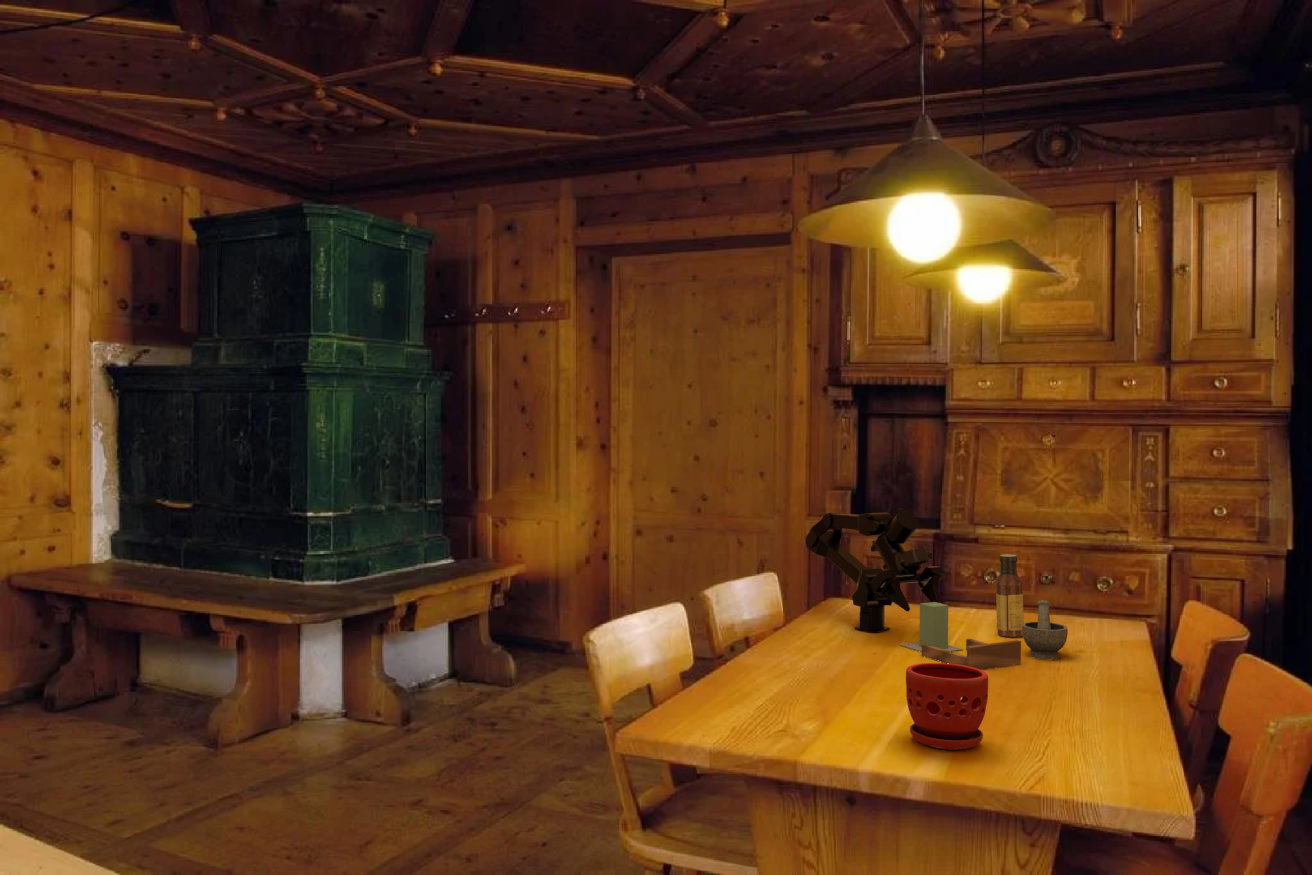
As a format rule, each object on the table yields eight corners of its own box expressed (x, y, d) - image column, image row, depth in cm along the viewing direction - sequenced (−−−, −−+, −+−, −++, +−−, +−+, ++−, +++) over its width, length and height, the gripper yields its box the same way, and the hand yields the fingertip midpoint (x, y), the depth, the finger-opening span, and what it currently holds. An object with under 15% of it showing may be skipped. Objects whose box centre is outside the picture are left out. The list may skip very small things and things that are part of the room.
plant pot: (1003, 751, 160) (1004, 677, 160) (928, 757, 157) (928, 681, 157) (962, 726, 173) (962, 657, 172) (891, 731, 170) (892, 661, 170)
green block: (919, 646, 232) (919, 603, 232) (934, 644, 234) (934, 601, 234) (932, 650, 228) (933, 606, 228) (947, 648, 230) (948, 605, 230)
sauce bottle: (1026, 634, 246) (1027, 554, 246) (1020, 639, 241) (1021, 557, 240) (998, 631, 249) (999, 552, 249) (992, 636, 244) (993, 555, 244)
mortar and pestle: (1068, 663, 218) (1068, 608, 217) (1022, 659, 221) (1023, 605, 220) (1064, 651, 228) (1065, 599, 228) (1021, 648, 231) (1021, 597, 231)
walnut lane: (921, 655, 224) (921, 633, 224) (969, 649, 230) (970, 627, 230) (970, 671, 210) (971, 647, 210) (1020, 664, 217) (1021, 641, 217)
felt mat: (899, 645, 234) (899, 644, 234) (932, 641, 238) (932, 640, 238) (929, 654, 225) (929, 653, 225) (962, 650, 229) (962, 648, 229)
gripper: (878, 536, 234) (909, 591, 224) (940, 533, 242) (972, 585, 232) (857, 565, 241) (886, 619, 231) (917, 560, 249) (947, 612, 240)
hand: (924, 608), depth 234 cm, fingers open, 9 cm apart
